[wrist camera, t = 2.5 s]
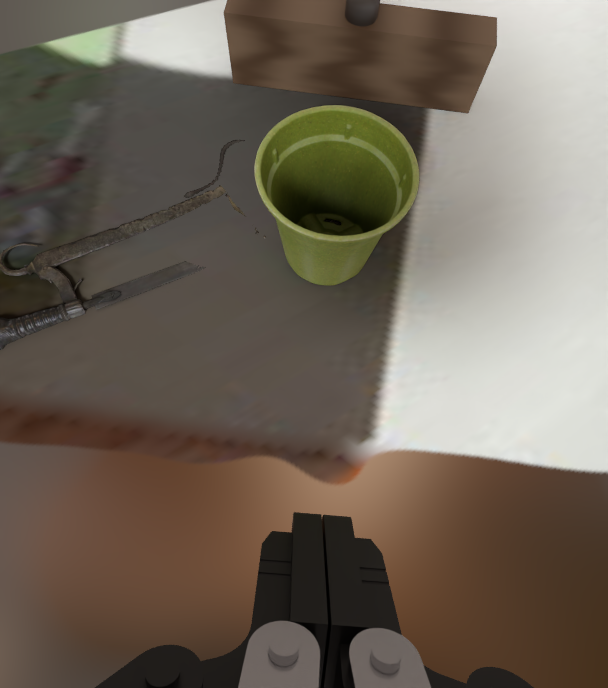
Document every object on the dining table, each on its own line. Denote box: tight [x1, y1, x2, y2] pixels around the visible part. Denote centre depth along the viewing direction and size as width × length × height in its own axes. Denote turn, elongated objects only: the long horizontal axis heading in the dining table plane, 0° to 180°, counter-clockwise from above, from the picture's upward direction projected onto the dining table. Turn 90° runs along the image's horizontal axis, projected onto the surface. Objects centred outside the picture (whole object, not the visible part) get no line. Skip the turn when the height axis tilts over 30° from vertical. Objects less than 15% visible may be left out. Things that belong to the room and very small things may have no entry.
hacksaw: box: [0, 140, 266, 350], centre depth 35 cm, size 24×10×2 cm, turn 115°
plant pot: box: [255, 105, 419, 285], centre depth 31 cm, size 9×9×9 cm
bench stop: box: [224, 0, 497, 113], centre depth 37 cm, size 20×3×9 cm, turn 82°
